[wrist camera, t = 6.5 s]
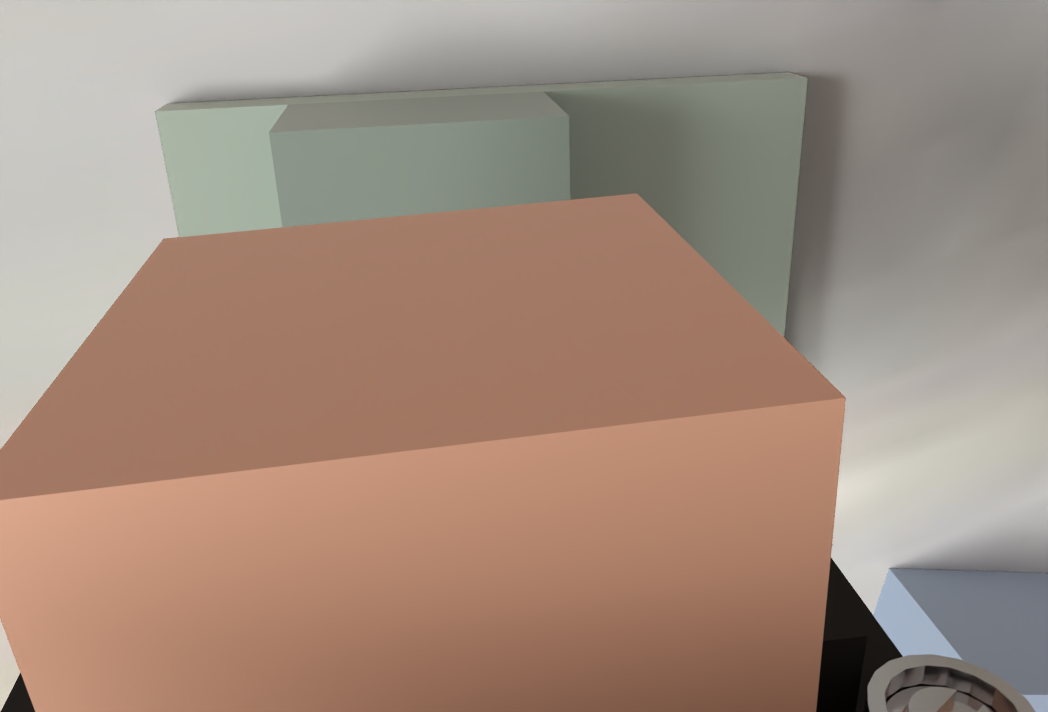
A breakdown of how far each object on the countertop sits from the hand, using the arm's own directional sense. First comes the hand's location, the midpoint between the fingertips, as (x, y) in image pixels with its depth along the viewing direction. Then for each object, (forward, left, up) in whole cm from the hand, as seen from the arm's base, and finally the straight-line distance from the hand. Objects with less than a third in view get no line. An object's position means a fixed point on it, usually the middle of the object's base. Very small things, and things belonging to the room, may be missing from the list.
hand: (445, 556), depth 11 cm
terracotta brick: (0, 0, -1) cm, 1 cm away
